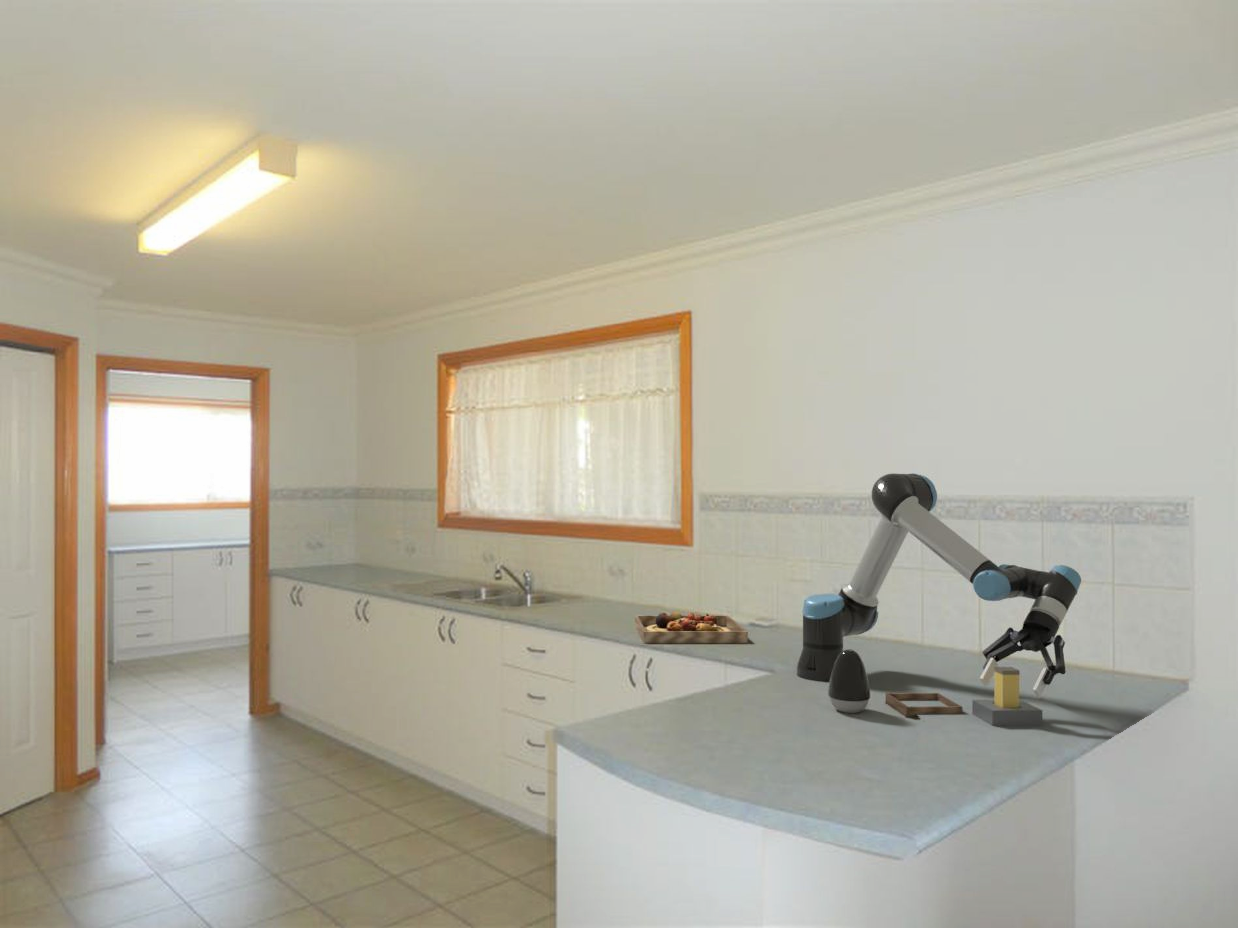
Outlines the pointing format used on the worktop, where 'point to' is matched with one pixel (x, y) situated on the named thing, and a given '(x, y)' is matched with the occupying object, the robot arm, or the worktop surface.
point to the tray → (911, 712)
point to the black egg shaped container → (849, 683)
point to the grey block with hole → (1007, 714)
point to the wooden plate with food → (685, 623)
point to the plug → (1006, 687)
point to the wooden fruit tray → (691, 632)
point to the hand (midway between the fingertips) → (1009, 687)
